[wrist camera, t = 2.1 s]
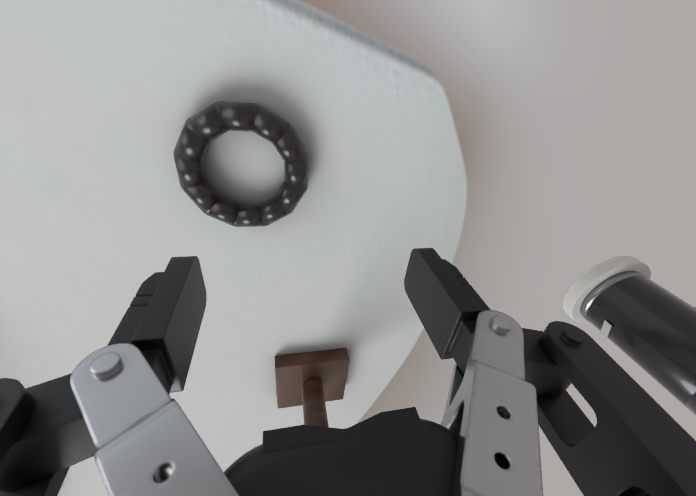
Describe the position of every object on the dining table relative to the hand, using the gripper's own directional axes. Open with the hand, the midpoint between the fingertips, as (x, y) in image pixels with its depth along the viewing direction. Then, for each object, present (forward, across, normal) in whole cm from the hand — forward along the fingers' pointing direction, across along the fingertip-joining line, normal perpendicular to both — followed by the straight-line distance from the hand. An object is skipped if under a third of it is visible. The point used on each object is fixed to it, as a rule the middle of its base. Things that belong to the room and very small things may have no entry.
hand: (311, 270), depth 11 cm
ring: (+12, +3, 0) cm, 12 cm away
